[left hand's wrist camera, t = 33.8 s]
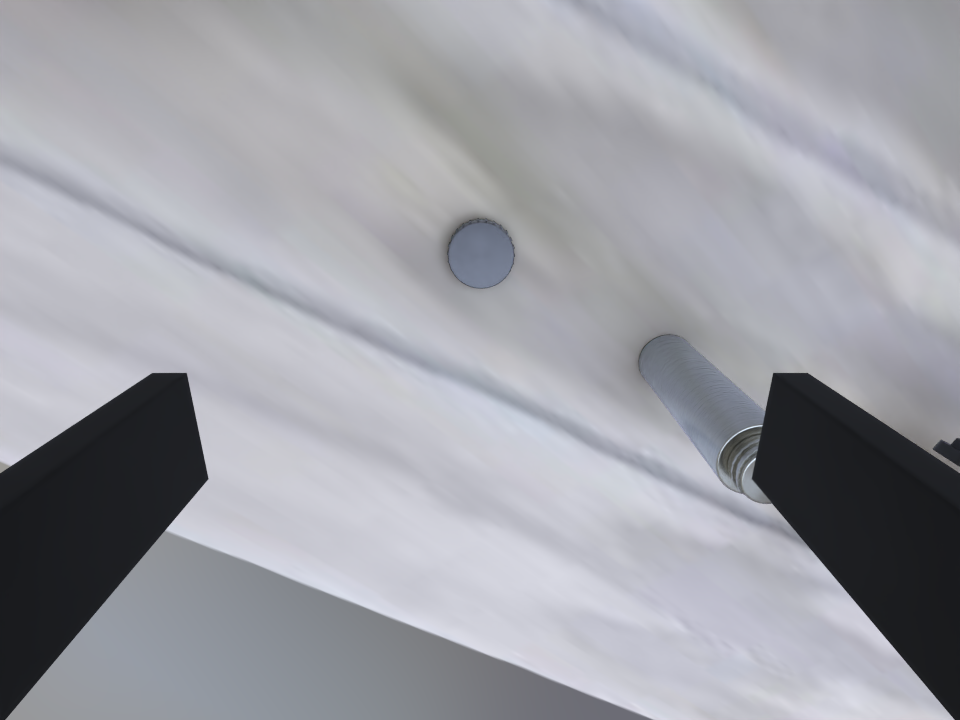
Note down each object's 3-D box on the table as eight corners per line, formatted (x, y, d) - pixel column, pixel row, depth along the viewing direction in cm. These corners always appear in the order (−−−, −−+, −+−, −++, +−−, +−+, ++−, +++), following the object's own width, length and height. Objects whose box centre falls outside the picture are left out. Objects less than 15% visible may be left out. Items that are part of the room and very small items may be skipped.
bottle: (680, 324, 39) (800, 425, 25) (701, 369, 40) (828, 491, 26) (629, 350, 40) (717, 464, 25) (651, 394, 41) (747, 526, 26)
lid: (436, 236, 37) (435, 240, 35) (496, 206, 36) (497, 208, 35) (466, 294, 38) (465, 300, 37) (524, 266, 38) (526, 271, 36)
